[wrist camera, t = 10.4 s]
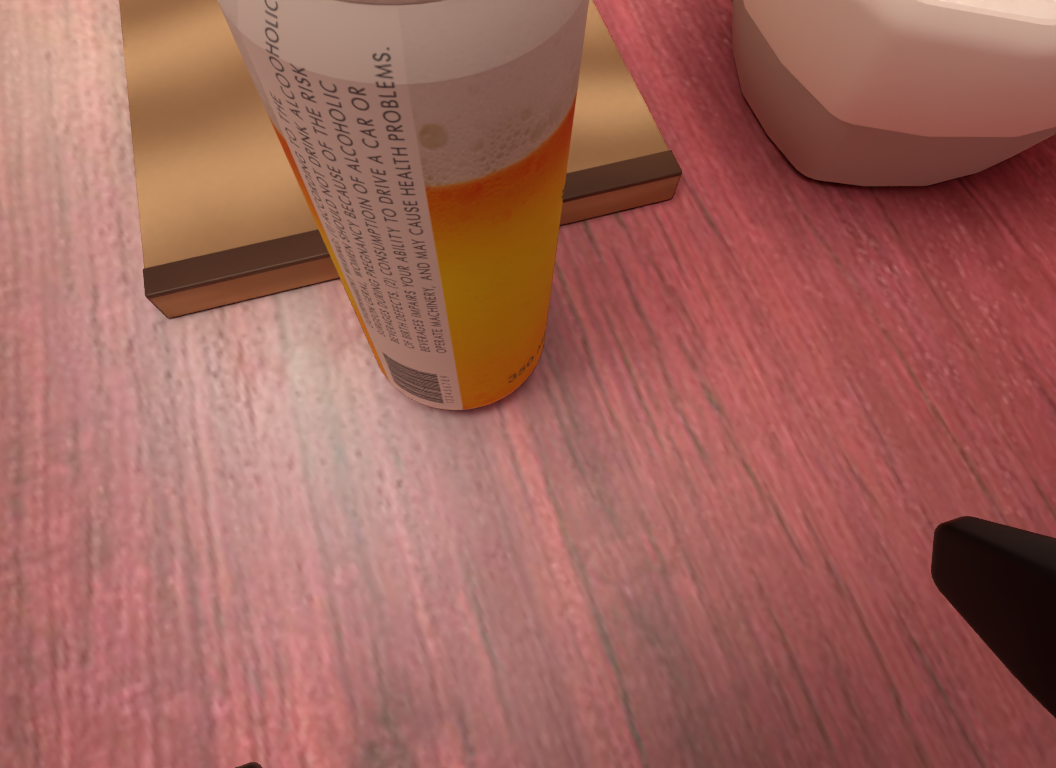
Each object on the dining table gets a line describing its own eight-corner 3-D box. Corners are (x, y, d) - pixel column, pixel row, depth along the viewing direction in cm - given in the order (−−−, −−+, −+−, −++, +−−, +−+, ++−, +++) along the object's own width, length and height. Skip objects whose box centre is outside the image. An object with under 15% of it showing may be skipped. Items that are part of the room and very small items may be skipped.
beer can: (560, 291, 24) (640, -210, 10) (518, 438, 21) (546, 50, 7) (408, 253, 24) (281, -277, 10) (351, 393, 22) (84, -52, 8)
